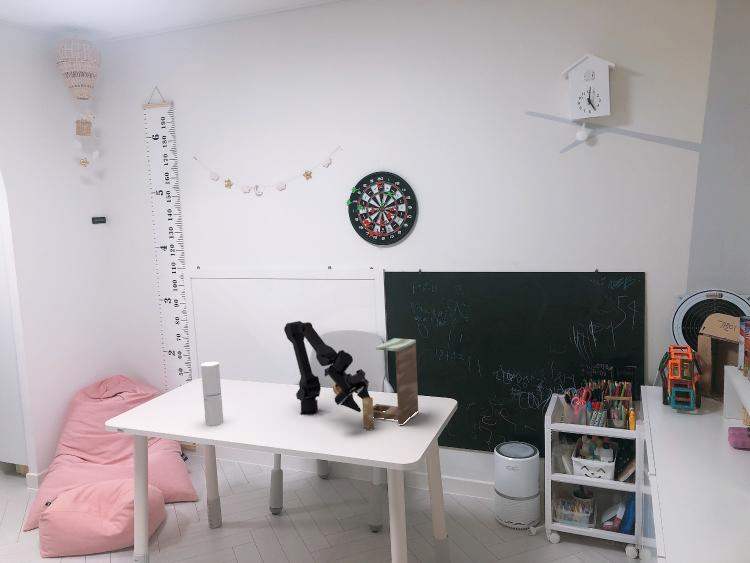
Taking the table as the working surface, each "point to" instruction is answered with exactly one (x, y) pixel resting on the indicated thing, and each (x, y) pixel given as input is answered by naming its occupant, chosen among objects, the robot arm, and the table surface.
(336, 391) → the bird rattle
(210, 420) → the cylindrical container
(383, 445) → the table surface
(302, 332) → the robot arm
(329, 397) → the table surface
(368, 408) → the peg
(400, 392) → the socket stand
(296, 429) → the table surface
